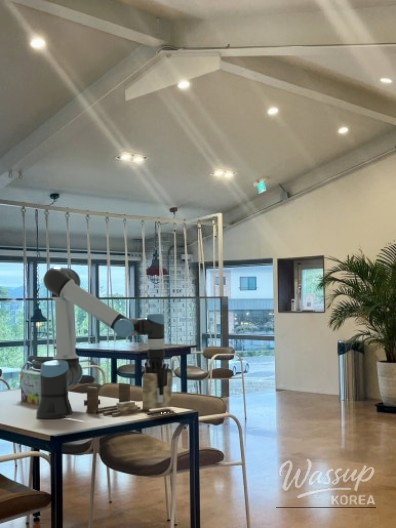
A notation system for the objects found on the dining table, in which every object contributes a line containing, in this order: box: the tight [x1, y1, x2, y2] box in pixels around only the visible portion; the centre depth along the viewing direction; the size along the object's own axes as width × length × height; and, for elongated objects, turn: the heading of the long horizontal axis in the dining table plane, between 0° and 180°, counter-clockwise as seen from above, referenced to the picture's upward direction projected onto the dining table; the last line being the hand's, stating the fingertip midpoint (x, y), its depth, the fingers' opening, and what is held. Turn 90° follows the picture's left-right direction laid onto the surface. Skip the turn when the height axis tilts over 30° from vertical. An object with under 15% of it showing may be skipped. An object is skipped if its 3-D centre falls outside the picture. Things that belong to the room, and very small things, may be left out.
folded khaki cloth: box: [141, 372, 172, 410], centre depth 289 cm, size 14×3×15 cm, turn 137°
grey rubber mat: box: [146, 409, 175, 416], centre depth 288 cm, size 14×11×1 cm
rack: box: [84, 382, 151, 418], centre depth 286 cm, size 22×19×12 cm
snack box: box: [20, 369, 41, 406], centre depth 327 cm, size 21×6×15 cm, turn 37°
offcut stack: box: [115, 400, 139, 413], centre depth 282 cm, size 9×4×4 cm, turn 137°
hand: (157, 402), depth 288 cm, fingers closed on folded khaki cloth, 3 cm apart
